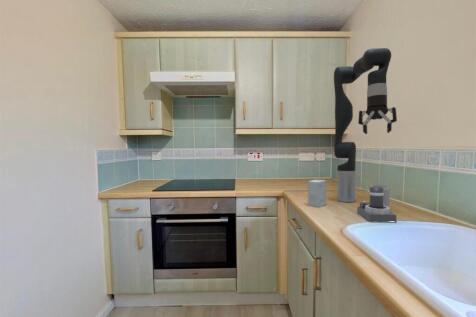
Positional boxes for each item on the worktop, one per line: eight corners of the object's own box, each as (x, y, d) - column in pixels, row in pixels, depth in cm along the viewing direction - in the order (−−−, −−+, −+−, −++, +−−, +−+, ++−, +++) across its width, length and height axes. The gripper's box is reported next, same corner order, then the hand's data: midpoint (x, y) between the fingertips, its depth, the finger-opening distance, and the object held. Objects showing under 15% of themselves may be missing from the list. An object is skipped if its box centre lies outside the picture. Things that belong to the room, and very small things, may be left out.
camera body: (357, 212, 110) (357, 200, 110) (380, 213, 109) (380, 200, 109) (369, 221, 96) (369, 207, 96) (396, 222, 95) (396, 208, 95)
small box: (315, 202, 132) (315, 179, 132) (326, 204, 128) (326, 180, 127) (307, 205, 127) (307, 181, 126) (319, 207, 122) (318, 182, 122)
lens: (368, 211, 100) (368, 188, 100) (370, 209, 104) (370, 186, 104) (383, 213, 97) (382, 188, 97) (384, 211, 101) (384, 187, 101)
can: (383, 207, 119) (383, 183, 119) (393, 211, 112) (393, 185, 111) (368, 207, 119) (368, 183, 119) (377, 211, 112) (377, 186, 111)
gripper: (356, 96, 105) (357, 134, 105) (395, 91, 96) (395, 131, 97) (360, 99, 111) (360, 134, 111) (397, 94, 102) (397, 132, 103)
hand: (377, 133), depth 104 cm, fingers open, 8 cm apart
